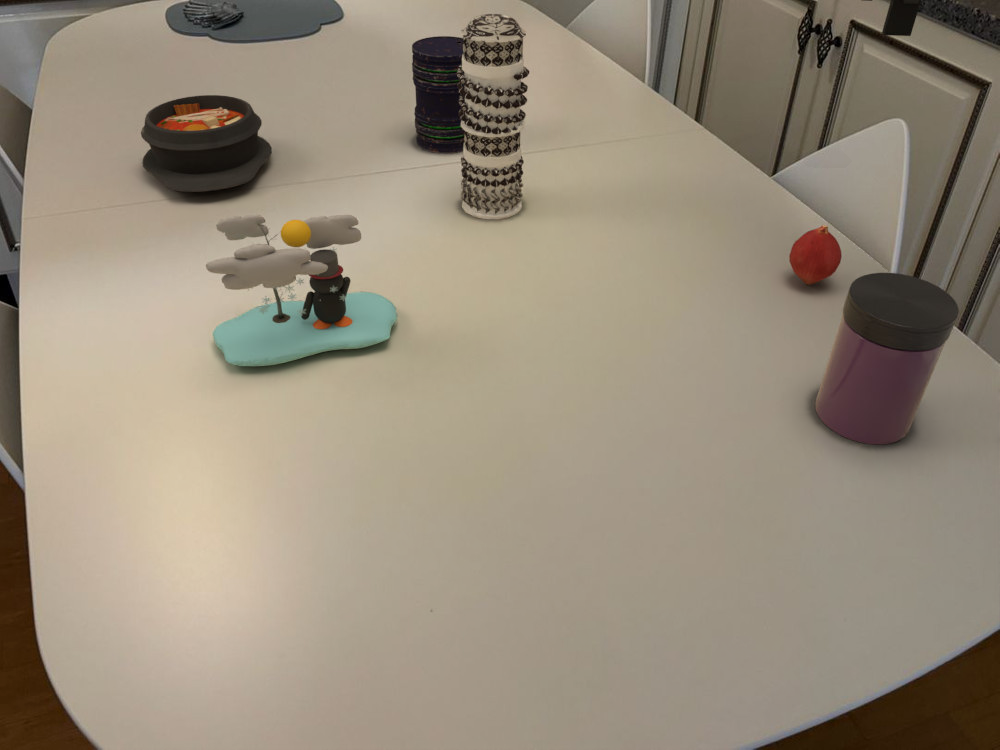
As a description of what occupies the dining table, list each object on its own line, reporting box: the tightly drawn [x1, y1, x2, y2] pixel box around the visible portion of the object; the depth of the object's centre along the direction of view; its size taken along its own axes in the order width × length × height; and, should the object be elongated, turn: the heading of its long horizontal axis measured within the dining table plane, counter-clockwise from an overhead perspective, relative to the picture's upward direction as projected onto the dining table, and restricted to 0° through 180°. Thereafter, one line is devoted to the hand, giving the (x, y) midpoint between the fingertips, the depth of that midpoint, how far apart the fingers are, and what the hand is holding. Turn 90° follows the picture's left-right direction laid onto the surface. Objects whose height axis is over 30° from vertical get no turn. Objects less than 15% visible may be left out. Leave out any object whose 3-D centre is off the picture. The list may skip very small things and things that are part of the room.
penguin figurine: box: [205, 214, 398, 367], centre depth 89 cm, size 20×11×15 cm, turn 106°
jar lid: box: [842, 272, 960, 351], centre depth 77 cm, size 9×9×2 cm
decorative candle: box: [457, 13, 530, 220], centre depth 112 cm, size 9×9×25 cm
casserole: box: [140, 94, 273, 193], centre depth 126 cm, size 25×19×8 cm
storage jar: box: [411, 35, 465, 154], centre depth 133 cm, size 10×10×15 cm
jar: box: [814, 314, 946, 445], centre depth 81 cm, size 9×9×13 cm
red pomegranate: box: [788, 224, 842, 286], centre depth 102 cm, size 6×6×8 cm
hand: (876, 16), depth 94 cm, fingers open, 13 cm apart
